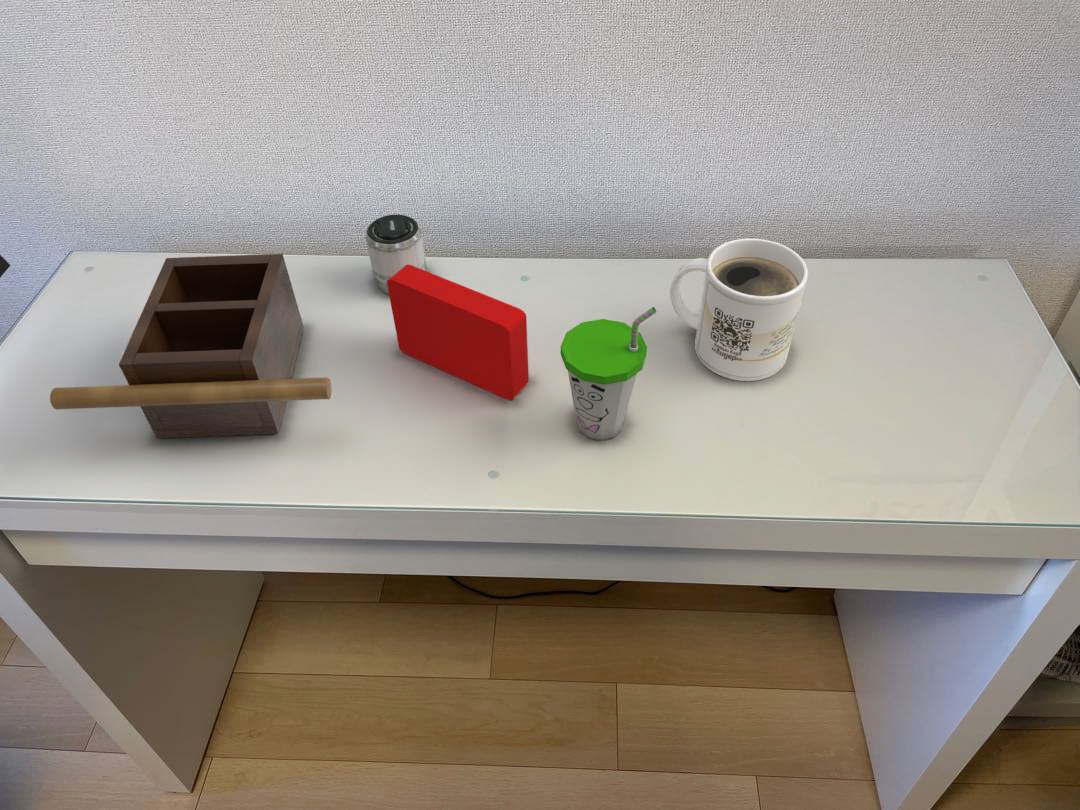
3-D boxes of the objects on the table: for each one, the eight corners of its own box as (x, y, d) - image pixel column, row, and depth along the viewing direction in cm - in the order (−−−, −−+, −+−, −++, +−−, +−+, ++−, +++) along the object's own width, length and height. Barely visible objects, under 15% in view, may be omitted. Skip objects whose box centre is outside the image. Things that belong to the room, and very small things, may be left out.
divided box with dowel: (137, 333, 95) (102, 259, 88) (362, 324, 95) (345, 251, 88) (83, 456, 83) (37, 383, 75) (341, 446, 83) (320, 372, 76)
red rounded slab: (529, 385, 89) (526, 310, 81) (513, 402, 87) (509, 328, 80) (416, 335, 94) (404, 262, 87) (399, 351, 93) (386, 277, 85)
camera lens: (423, 261, 104) (415, 205, 98) (432, 292, 99) (424, 236, 94) (371, 269, 103) (360, 214, 97) (378, 301, 98) (367, 245, 93)
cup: (545, 432, 84) (543, 315, 73) (587, 385, 88) (591, 268, 78) (613, 466, 81) (621, 349, 70) (653, 415, 85) (667, 298, 74)
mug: (720, 395, 87) (736, 311, 79) (661, 325, 95) (670, 242, 87) (805, 364, 90) (829, 281, 82) (742, 299, 98) (757, 217, 90)
